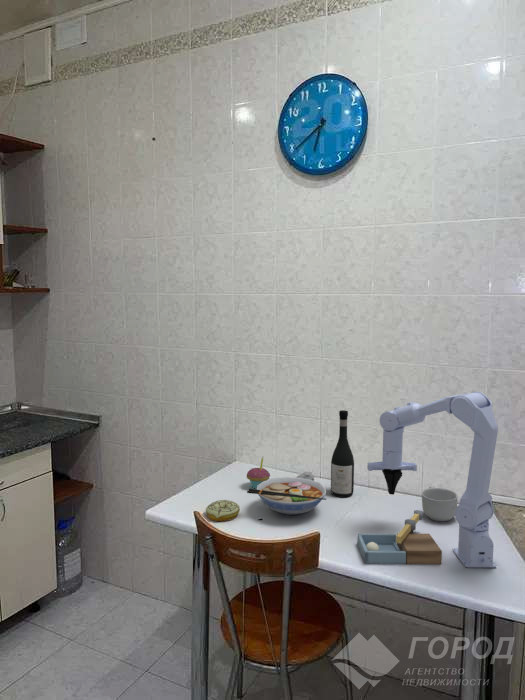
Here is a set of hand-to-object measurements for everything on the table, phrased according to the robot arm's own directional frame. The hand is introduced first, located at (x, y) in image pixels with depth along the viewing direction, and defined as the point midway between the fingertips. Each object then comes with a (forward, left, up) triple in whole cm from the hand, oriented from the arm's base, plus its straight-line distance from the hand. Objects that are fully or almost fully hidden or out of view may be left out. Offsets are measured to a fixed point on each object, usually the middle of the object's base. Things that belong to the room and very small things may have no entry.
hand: (391, 493), depth 154 cm
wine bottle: (+25, +11, -10) cm, 29 cm away
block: (-17, -3, -10) cm, 20 cm away
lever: (-12, -3, -6) cm, 13 cm away
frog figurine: (+28, +24, -10) cm, 38 cm away
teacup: (+7, -17, -10) cm, 21 cm away
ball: (-20, +9, -10) cm, 24 cm away
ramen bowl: (+10, +30, -10) cm, 33 cm away
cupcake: (+31, +41, -10) cm, 52 cm away
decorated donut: (+6, +52, -10) cm, 53 cm away
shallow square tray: (-18, +7, -10) cm, 22 cm away
